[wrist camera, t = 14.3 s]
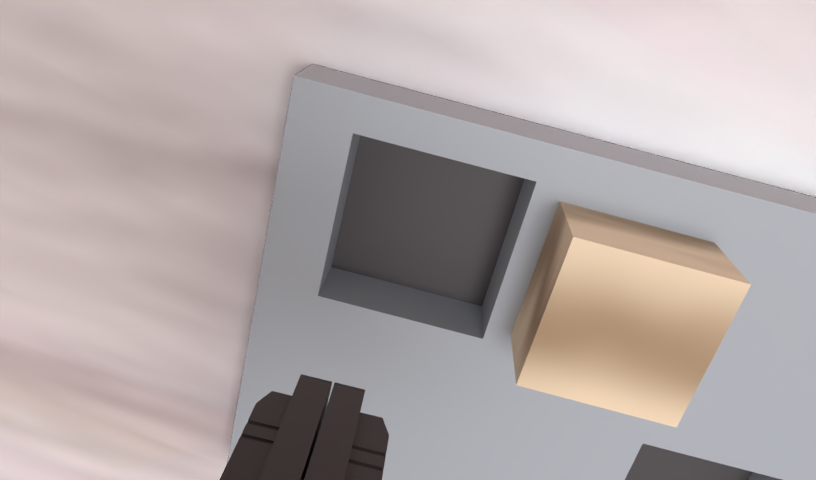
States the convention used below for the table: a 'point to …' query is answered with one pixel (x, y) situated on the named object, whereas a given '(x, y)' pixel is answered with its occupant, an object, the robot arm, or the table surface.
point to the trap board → (511, 291)
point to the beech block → (623, 314)
